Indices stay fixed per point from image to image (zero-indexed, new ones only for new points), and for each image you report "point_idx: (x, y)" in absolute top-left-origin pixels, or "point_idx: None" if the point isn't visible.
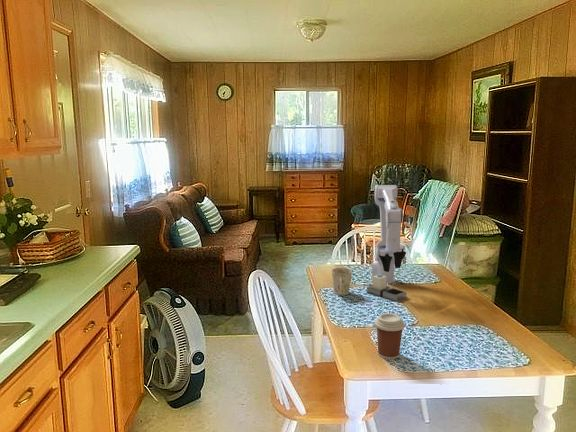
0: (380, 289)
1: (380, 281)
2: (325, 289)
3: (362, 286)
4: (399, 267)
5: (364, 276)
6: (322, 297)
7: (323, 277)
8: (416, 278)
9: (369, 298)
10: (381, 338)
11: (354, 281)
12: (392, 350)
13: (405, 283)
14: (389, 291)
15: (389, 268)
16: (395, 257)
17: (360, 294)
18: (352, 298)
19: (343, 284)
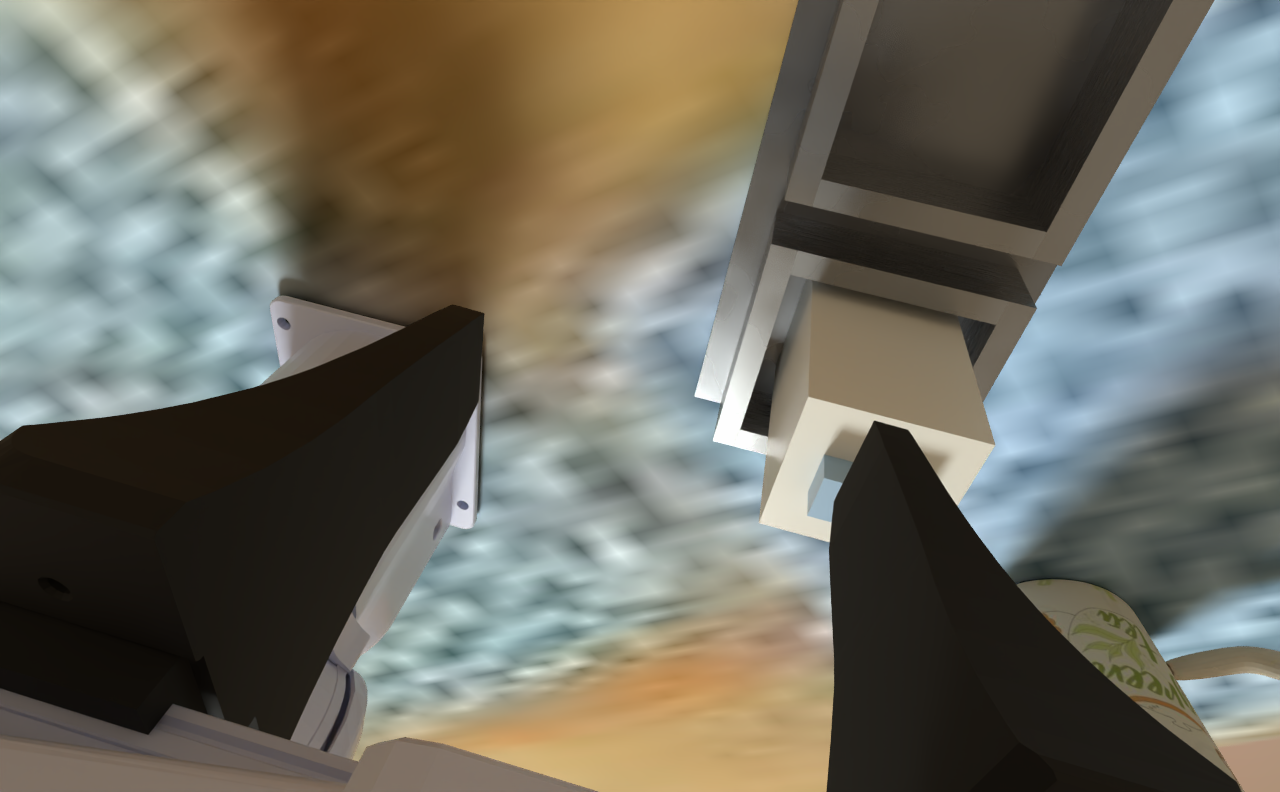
0: (952, 329)
1: (983, 409)
2: None
3: (709, 531)
4: (466, 317)
5: (429, 581)
6: (1255, 723)
7: (684, 785)
8: (5, 133)
9: (1115, 361)
10: None
11: (617, 614)
12: None
13: (269, 181)
14: (916, 193)
15: (895, 465)
16: (353, 575)
17: (994, 484)
18: (1190, 515)
19: (1206, 732)
